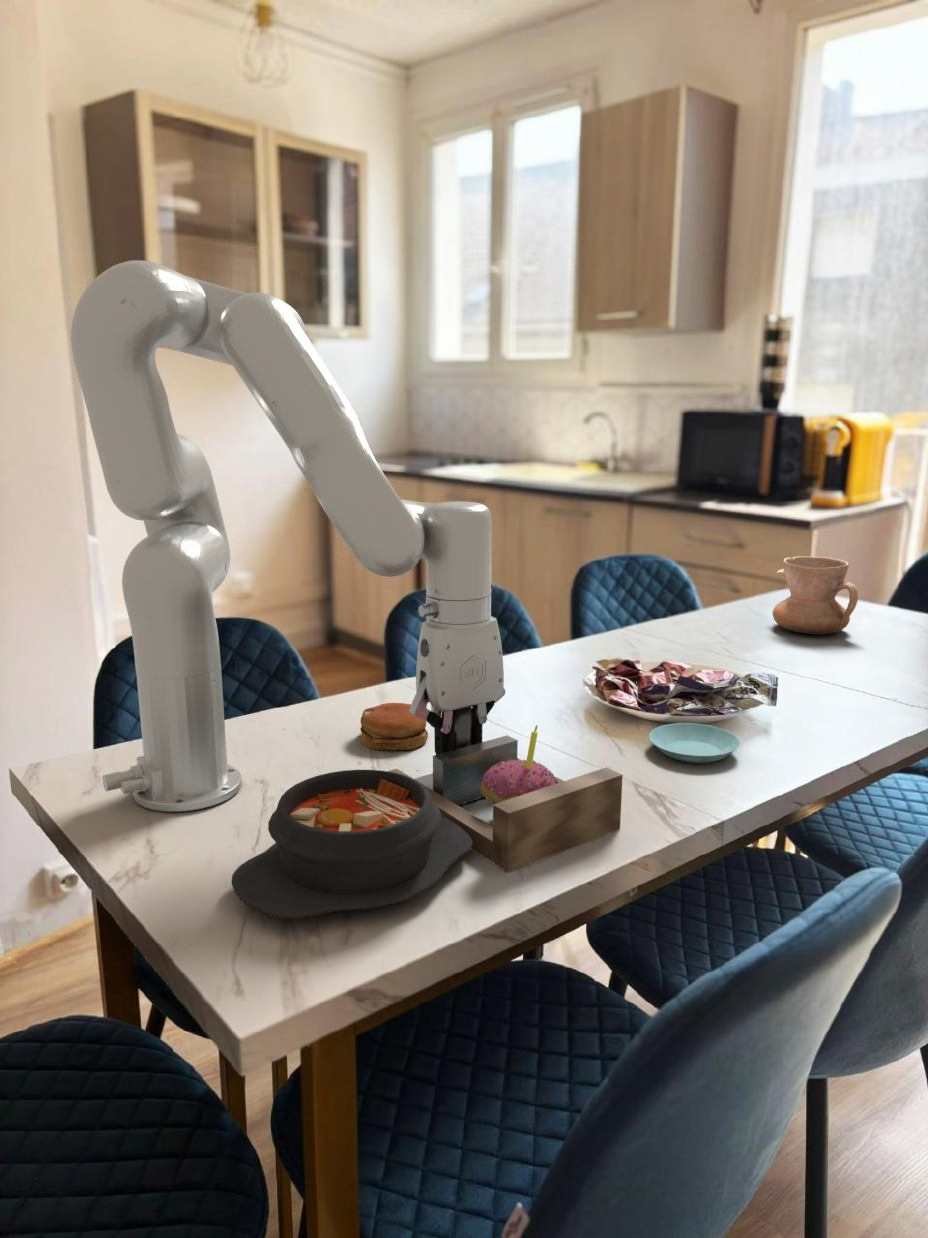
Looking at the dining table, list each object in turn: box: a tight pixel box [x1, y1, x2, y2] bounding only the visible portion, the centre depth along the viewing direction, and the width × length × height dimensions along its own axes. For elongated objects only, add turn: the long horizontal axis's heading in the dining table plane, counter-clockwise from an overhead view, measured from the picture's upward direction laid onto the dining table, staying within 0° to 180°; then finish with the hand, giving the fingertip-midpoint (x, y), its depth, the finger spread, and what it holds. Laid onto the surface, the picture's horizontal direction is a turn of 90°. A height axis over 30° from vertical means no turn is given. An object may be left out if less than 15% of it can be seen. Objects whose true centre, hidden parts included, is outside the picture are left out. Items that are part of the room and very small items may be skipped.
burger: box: [359, 702, 429, 751], centre depth 128 cm, size 10×9×5 cm
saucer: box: [648, 722, 741, 764], centre depth 124 cm, size 12×12×2 cm
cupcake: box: [481, 724, 558, 805], centre depth 103 cm, size 9×8×12 cm
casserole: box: [231, 769, 473, 920], centre depth 92 cm, size 25×19×8 cm
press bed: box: [386, 757, 623, 873], centre depth 107 cm, size 16×24×6 cm, turn 36°
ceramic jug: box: [772, 555, 859, 635], centre depth 184 cm, size 18×14×14 cm
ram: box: [414, 706, 518, 806], centre depth 111 cm, size 11×7×10 cm, turn 126°
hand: (458, 755), depth 112 cm, fingers closed on ram, 3 cm apart
